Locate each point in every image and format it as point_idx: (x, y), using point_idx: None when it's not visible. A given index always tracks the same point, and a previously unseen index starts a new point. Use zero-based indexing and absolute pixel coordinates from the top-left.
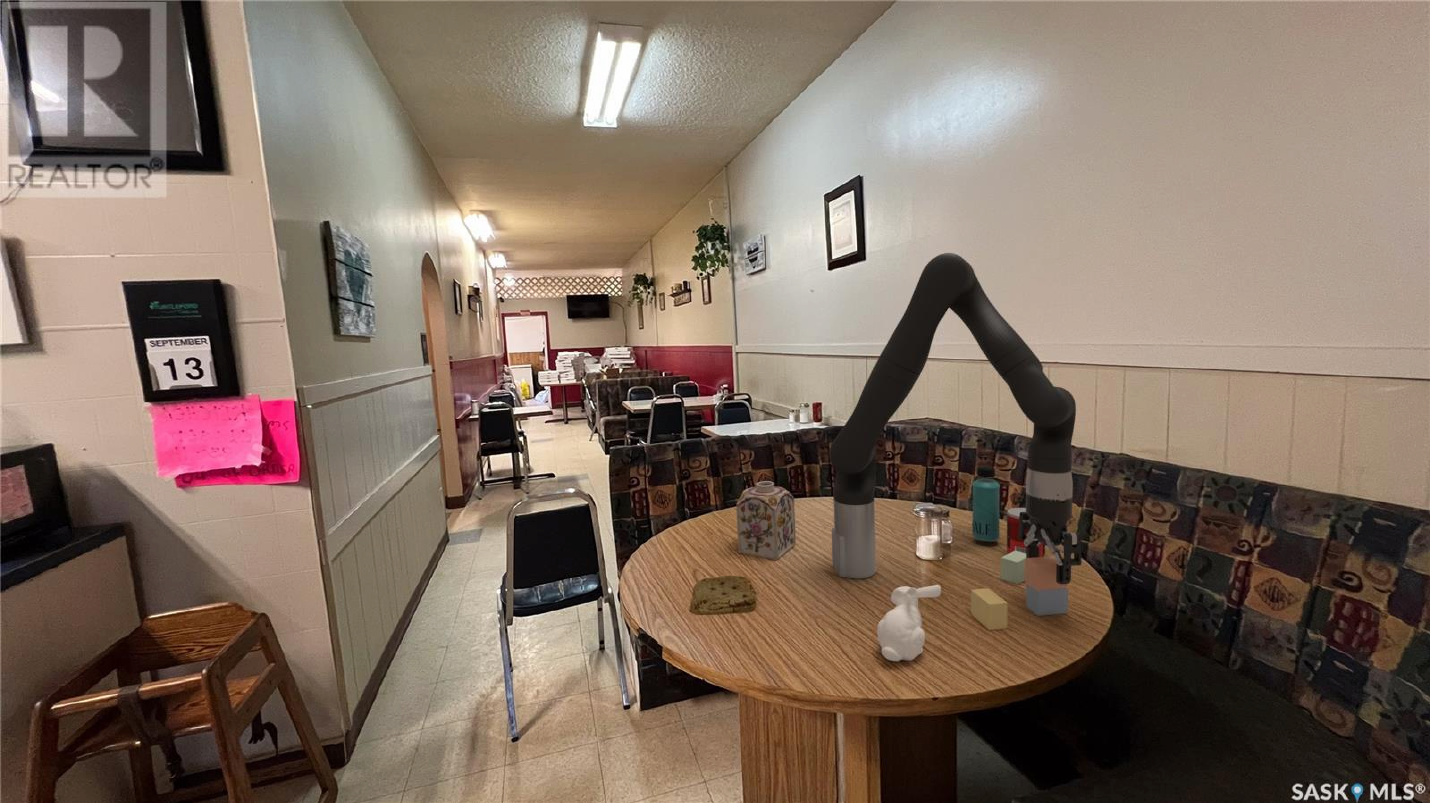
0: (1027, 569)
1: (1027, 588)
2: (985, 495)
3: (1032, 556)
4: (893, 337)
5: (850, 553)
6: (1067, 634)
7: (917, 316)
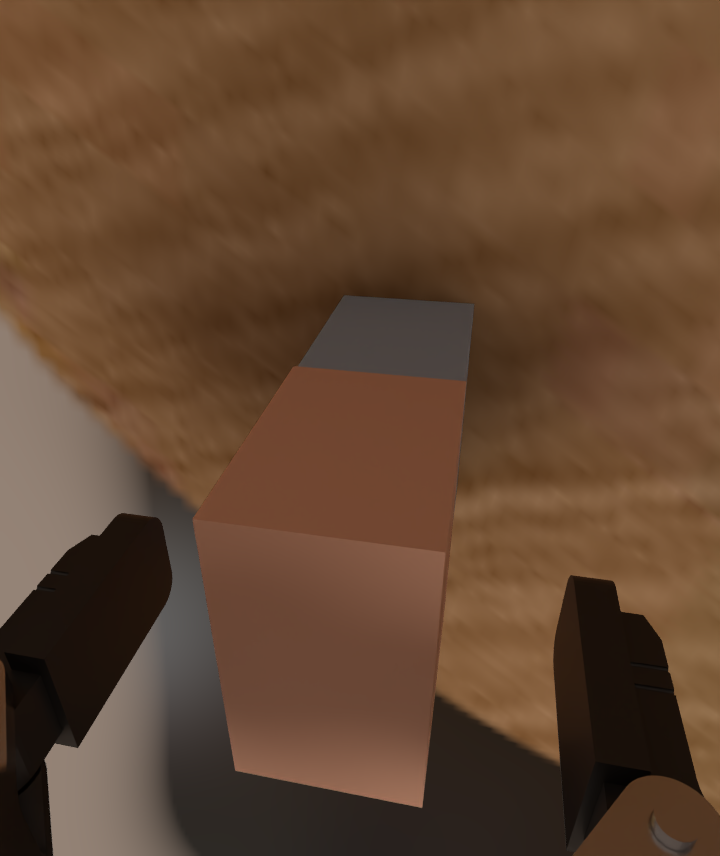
0: (409, 461)
1: (445, 366)
2: None
3: (571, 681)
4: None
5: None
6: (116, 302)
7: None
